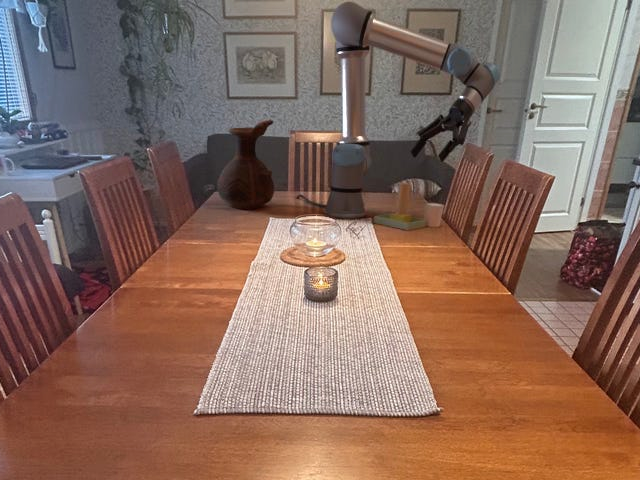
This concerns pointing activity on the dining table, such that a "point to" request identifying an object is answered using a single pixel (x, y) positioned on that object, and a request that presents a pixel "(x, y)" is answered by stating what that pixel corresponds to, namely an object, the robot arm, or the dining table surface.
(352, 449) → the dining table surface
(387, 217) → the tray
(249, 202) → the jug
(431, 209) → the white cup
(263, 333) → the dining table surface
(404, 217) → the wooden peg on base
